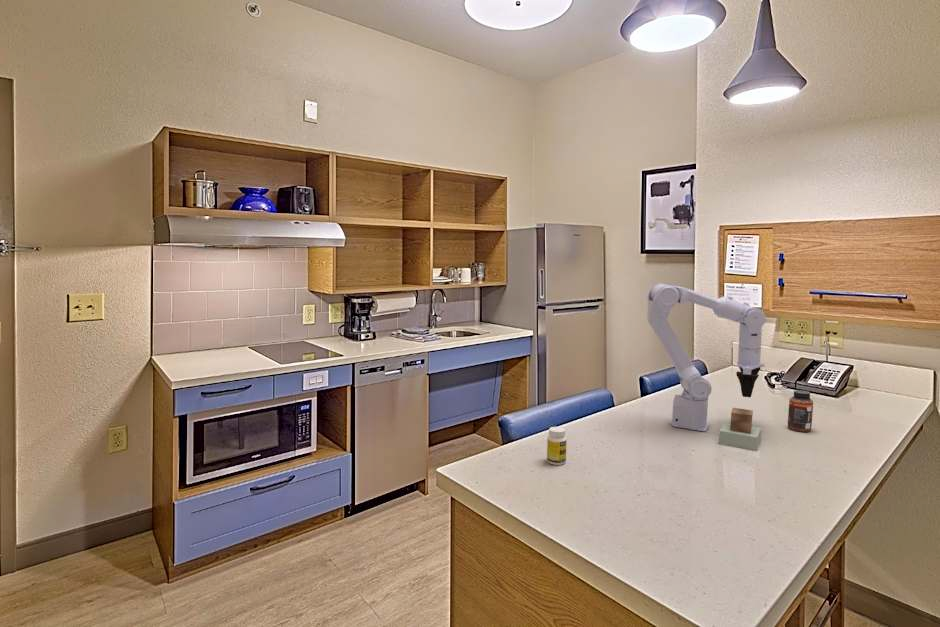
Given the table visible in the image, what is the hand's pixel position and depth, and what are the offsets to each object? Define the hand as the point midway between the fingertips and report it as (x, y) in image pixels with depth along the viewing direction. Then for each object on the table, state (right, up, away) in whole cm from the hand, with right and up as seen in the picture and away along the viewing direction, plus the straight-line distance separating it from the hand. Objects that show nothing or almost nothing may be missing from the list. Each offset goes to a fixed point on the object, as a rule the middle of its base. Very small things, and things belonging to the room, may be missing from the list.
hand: (747, 393), depth 155 cm
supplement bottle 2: (+15, -11, 0) cm, 19 cm away
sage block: (-7, -12, -10) cm, 17 cm away
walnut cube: (-7, -8, -10) cm, 15 cm away
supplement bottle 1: (-60, -14, -23) cm, 65 cm away
